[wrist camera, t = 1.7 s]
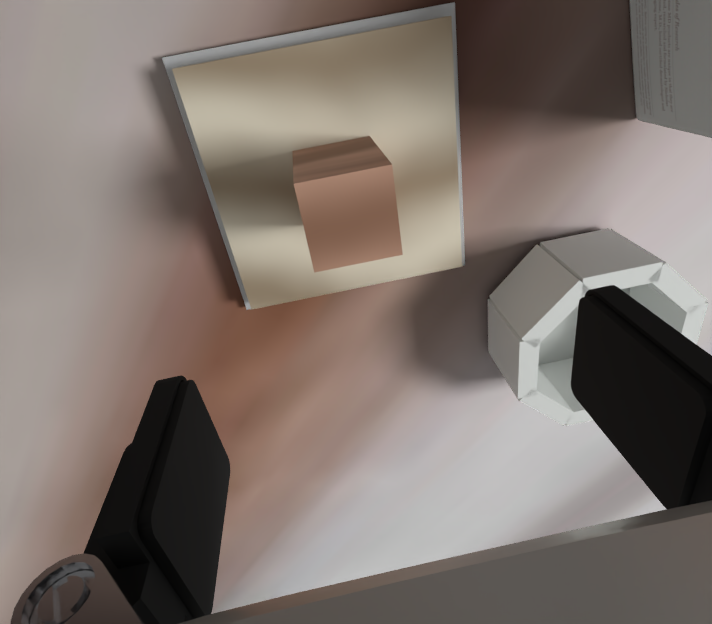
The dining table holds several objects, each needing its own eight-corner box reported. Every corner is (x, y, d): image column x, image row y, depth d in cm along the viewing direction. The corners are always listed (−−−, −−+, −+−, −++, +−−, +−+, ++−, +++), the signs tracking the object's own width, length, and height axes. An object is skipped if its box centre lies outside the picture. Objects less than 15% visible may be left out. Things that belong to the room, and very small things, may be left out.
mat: (163, 57, 22) (161, 57, 22) (452, 2, 22) (455, 2, 22) (247, 306, 29) (246, 309, 29) (463, 262, 30) (465, 265, 29)
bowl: (484, 249, 29) (521, 290, 25) (655, 215, 30) (723, 249, 25) (486, 383, 35) (516, 436, 31) (628, 353, 35) (679, 402, 31)
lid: (176, 67, 22) (134, 80, 16) (445, 16, 22) (503, 10, 16) (252, 301, 29) (243, 371, 23) (457, 259, 29) (500, 318, 23)
